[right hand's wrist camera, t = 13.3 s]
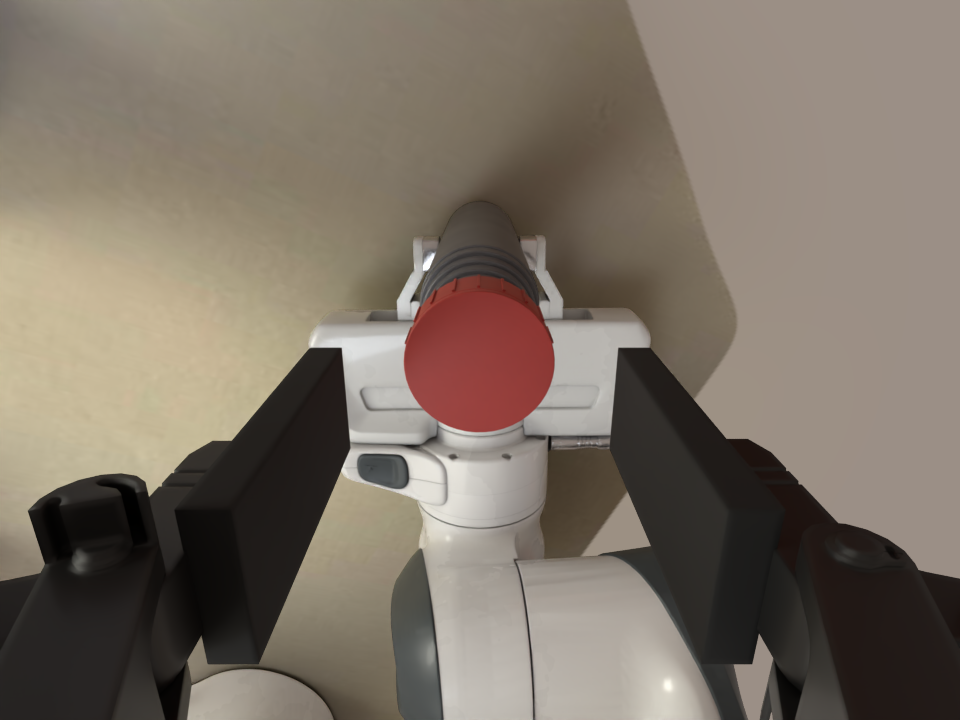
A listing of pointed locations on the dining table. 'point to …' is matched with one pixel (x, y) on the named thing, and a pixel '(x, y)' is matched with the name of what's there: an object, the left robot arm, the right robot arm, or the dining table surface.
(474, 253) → the bottle
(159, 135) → the dining table surface
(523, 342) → the cap
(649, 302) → the dining table surface
